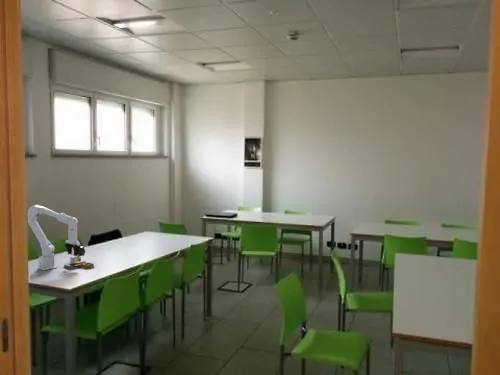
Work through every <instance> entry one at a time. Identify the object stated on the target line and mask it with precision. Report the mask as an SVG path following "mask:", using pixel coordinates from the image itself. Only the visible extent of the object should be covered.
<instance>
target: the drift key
mask: <svg viewBox="0 0 500 375" xmlns="http://www.w3.org/2000/svg"><path fill="white" fill-rule="evenodd" d="M83 263H87V261H86V260H81V261H79V262H75V265H77V264H83Z"/></svg>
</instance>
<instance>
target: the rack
mask: <svg viewBox="0 0 500 375" xmlns="http://www.w3.org/2000/svg"><path fill="white" fill-rule="evenodd" d="M93 268H95V264H94V263H93V262H86V263H83V264H81V269H84V270H88V269H93Z"/></svg>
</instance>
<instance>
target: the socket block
mask: <svg viewBox="0 0 500 375" xmlns="http://www.w3.org/2000/svg"><path fill="white" fill-rule="evenodd" d="M63 268H65V269H67V270H76V269H80V268H81V264H77V265H72V266H71V265H70V263H66V264H63ZM81 269H82V268H81Z"/></svg>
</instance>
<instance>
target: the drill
mask: <svg viewBox="0 0 500 375" xmlns="http://www.w3.org/2000/svg"><path fill="white" fill-rule="evenodd" d="M75 257H76V256H71V257H70V263H69V264H70V265H71V266H72V265H75Z"/></svg>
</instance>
